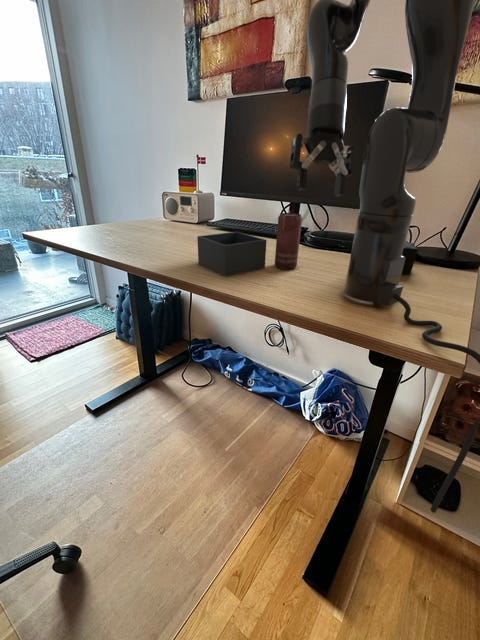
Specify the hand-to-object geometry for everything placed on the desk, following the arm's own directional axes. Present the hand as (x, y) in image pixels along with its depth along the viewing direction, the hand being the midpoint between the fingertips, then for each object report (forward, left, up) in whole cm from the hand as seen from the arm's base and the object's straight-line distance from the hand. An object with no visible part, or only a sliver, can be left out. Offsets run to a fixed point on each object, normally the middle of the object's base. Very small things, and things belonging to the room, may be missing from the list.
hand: (320, 192), depth 64 cm
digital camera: (-7, -29, -20) cm, 36 cm away
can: (+12, -3, -20) cm, 23 cm away
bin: (+21, +9, -20) cm, 30 cm away
